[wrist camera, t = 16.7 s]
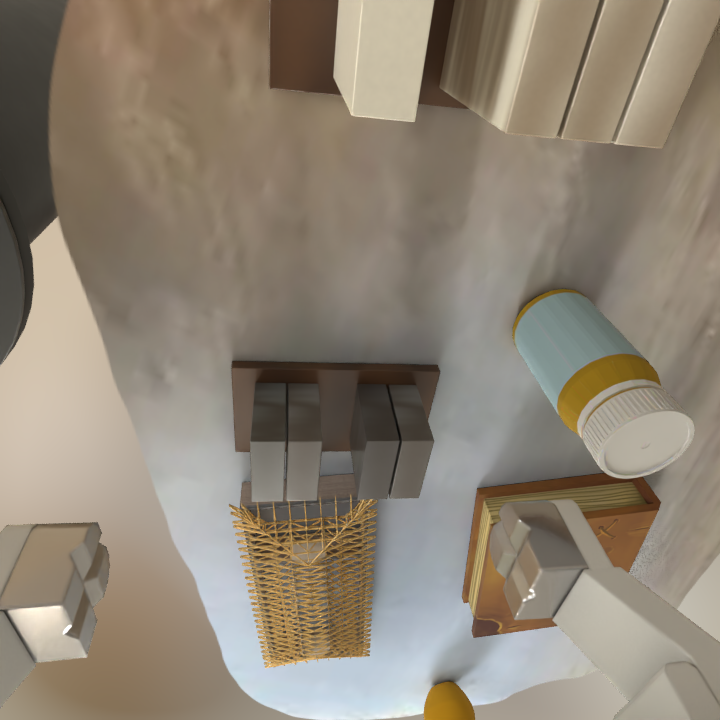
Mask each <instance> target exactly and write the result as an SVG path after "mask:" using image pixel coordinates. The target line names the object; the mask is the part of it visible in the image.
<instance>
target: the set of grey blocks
mask: <svg viewBox="0 0 720 720" xmlns="http://www.w3.org/2000/svg"><path fill="white" fill-rule="evenodd" d="M231 369H232V389H233V409H234V430H235V450H236V452H250V460H251V500H252V502H267V501H283V500H284V469H285V452H286V501H305V500H317V496H318V485H319V475H320V464H321V453H322V451H351V455H352V463H353V470H354V478H355V485H356V493H357V499H358V500H362V499H387V497H388V493H389V497H390V499H401V498H419V495H420V492H421V488H422V484H423V480H424V477H425V473H426V469H427V466H428V462H429V458H430V455H431V451H432V447H433V444H434V439H433V435H432V432H431V429H430V426H429V423H428V418H429V414H430V410H431V406H432V402H433V398H434V394H435V390H436V387H437V383H438V379H439V375H440V370H439V367H438V365H402V364H352V363H303V362H253V361H233V362H232V368H231Z"/></svg>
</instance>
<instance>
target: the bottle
mask: <svg viewBox="0 0 720 720" xmlns="http://www.w3.org/2000/svg"><path fill="white" fill-rule="evenodd" d="M512 336H513V340H514V343H515V346H516V347H517V349H518V351H519V353H520V354H521V356H522V357H523V359H524V361H525V362H526V364H527V365H528V367H529V369H530V370H531V372H532V373H533V375H534V377H535V378H536V380H537V381H538V383H539V385H540V386H541V388H542V389H543V391H544V392H545V394H546V396H547V397H548V399H549V400H550V402H551V404H552V405H553V407H554V408H555V410H556V412H557V413H558V415H559V416H560V418H561V419H562V420H563V422H564V424H565V425H566V426H567V427H568V428H569V429H571V430H572V431H574V432H575V433H577V434H578V435H579V436H580V437H581V438H582V440H583V441H584V443H585V445H586V447H587V449H588V450H589V452H590V453H591V455H592V457H593V458H594V460H595V461H596V463H597V464H598V466H599V467H600V468H601V470H603V471H604V472H605V473H606V474H608V475H610V476H612V477H615V478H622V479H629V478H637V477H642V476H646V475H649V474H652V473H654V472H656V471H659V470H661V469H663V468H664V467H666V466H668V465H669V464H671V463H672V462H674V461H675V460H676V459H677V458H679V457H680V456H681V455H682V454H683V453H684V452H685V450H686V449H687V448H688V447H689V445H690V443H691V442H692V439H693V437H694V432H695V428H694V424H693V422H692V419H691V418H690V416H689V415H688V414H687V413H686V412H685V411H684V410H683V409H682V408H681V406H680V405H679V404H678V403H677V402H676V401H675V400H674V399H673V398H672V397H671V396H670V395H669V394H668V393H667V392H666V391H665V390H664V389H663V388H662V387H661V384H660V381H659V377H658V374H657V372H656V371H655V370H654V368H653V367H652V366H651V365H650V364H649V362H648V361H647V360H646V359H645V358H644V357H643V356H642V355H641V354H640V353H639V352H638V351H637V350H636V349H635V348H634V346H633V345H632V344H631V343H630V342H629V341H628V340H627V339H626V338H625V337H624V336H623V335H622V334H621V333H620V332H619V331H618V330H617V329H616V328H615V326H614V325H613V324H612V323H611V322H610V321H609V320H608V319H607V318H606V317H605V316H604V315H603V314H602V313H601V312H600V311H599V310H598V309H597V308H596V307H595V305H594V304H593V303H592V302H591V301H590V300H589V299H588V298H586V297H585V296H584V295H583V294H581V293H579V292H577V291H575V290H569V289H559V290H553V291H549V292H547V293H544V294H542V295H540V296H538V297H536V298H535V299H533V300H532V301H531V302H529V303H528V304H527V305H526V306H525V307H524V308H523V309H522V311H521V312H520V313H519V315H518V316H517V318H516V321H515V323H514V326H513V334H512Z"/></svg>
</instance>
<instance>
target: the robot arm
mask: <svg viewBox="0 0 720 720" xmlns="http://www.w3.org/2000/svg"><path fill="white" fill-rule="evenodd" d="M498 514H499V516H500V519H501V520H500V521H499V522H498V523H496V524H495V525H494V526H493V527H492V530H491V533H490V553H491V558H492V561H493V564H494V567H495V569H496V570H497V571H498V572H499V573H500V574H501V575H502V576H503V577H504V578H505V579H506V581H505V584H504V588H503V591H504V594H505V596H506V599H507V602H508V604H509V607H510V609H511V612H512V615H513V617H514V620H525V619H543V618H553V621H554V623H555V624H556V625H557V626H558V627H559V628H560V629H561V630H562V631H563V632H564V633H565V634H566V635H567V636H568V637H569V638H570V640H571V641H572V642H573V643H574V644H575V645H576V646H577V647H578V648H579V649H580V650H581V651H582V652H583V653H584V654H585V655H586V657H587V658H588V659H589V660H590V661H591V662H592V663H593V664H594V665H595V666H596V667H597V668H598V669H599V670H600V671H601V672H602V673H603V674H604V676H605V677H606V678H607V679H608V680H609V681H610V682H611V683H612V684H613V685H614V686H615V687H616V688H617V689H618V690H619V692H621V694H623V696H624V697H626V699H627V700H628V701H629V702H628V703H627V704H626V705H625V706H624V707H623V708H622V709H621V710H620V711H619V712H618V713H617V714H616V715H615V716H614V719H613V720H720V642H718V641H717V640H716V639H715V638H713V637H712V636H711V635H709V634H708V633H707V632H705V631H704V630H703V629H701V628H700V627H699V626H697V625H696V624H695V623H694V622H692V621H691V620H690V619H688V618H687V617H686V616H684V615H683V614H682V613H680V612H679V611H678V610H676V609H675V608H674V607H672V606H671V605H670V604H669V603H667V602H666V601H665V600H663V599H662V598H661V597H659V596H658V595H657V594H655V593H654V592H653V591H651V590H650V589H649V588H647V587H646V586H645V585H643V584H642V583H641V582H640V581H638V580H637V579H636V578H634V577H633V576H632V575H630V574H629V573H628V572H626V571H625V570H624V569H622V568H621V567H614V566H613V565H612V563H611V561H610V559H609V558H608V556H607V554H606V553H605V551H604V549H603V547H602V546H601V544H600V542H599V541H598V539H597V537H596V536H595V534H594V532H593V530H592V529H591V527H590V525H589V524H588V522H587V520H586V518H585V517H584V515H583V513H582V512H581V510H580V508H579V506H578V505H577V503H575V502H574V501H573V500H569V499H566V500H551V501H548V500H538V501H522V502H506V503H504V504H503V505H502V506H501V508H500V510H499V513H498ZM101 534H102V532H101V529H100V527H99V525H98V523H97V522H92V523H61V524H60V523H59V524H23V525H7V526H6V527H5V528H4V529H3V530H2V531H1V532H0V708H1V707H2V705H3V704H4V703H5V702H6V701H7V699H8V698H9V697H10V696H11V695H12V693H13V692H14V691H15V690H16V688H18V686H19V685H20V684H21V683H22V682H23V681H24V679H25V678H26V677H27V676H28V675H29V673H30V672H31V671H32V670H33V669H34V668H35V666H36V665H35V663H38V662H47V661H55V660H65V659H74V658H83V657H87V654H88V651H89V647H90V644H91V640H92V637H93V633H94V630H95V626H96V623H97V618H96V616H95V613H94V610H93V607H94V606H95V605H96V604H97V603H98V602H99V601H100V600H101V599H102V598H103V597H104V594H105V591H106V587H107V583H108V576H109V568H110V563H109V554H108V551H107V547H106V546H104V545H102V544H101V543H99V540H100V537H101Z"/></svg>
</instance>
